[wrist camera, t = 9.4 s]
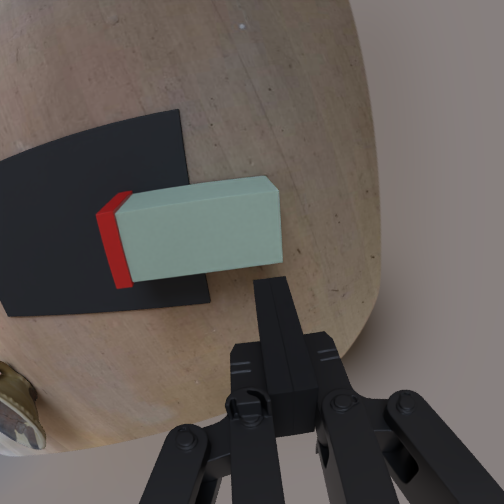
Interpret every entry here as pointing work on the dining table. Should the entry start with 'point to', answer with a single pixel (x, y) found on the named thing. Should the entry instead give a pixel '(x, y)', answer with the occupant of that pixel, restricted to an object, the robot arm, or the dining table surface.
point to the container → (191, 229)
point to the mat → (85, 218)
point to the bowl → (19, 410)
